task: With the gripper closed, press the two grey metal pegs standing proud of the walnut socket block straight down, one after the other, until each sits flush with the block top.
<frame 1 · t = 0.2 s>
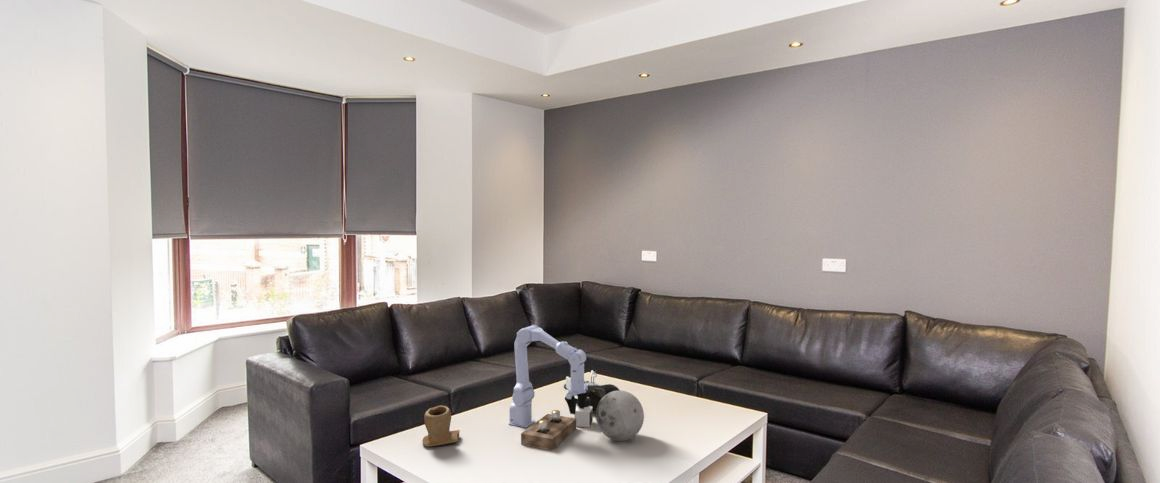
hand: (577, 411, 223), 10 cm above the table, fingers open, 7 cm apart
moon model: (619, 439, 219), on the table
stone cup: (441, 444, 214), on the table
socket block: (549, 436, 222), on the table
peg near: (543, 426, 216), point 6 cm above the table, slide at 4.0 cm
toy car: (582, 390, 284), on the table
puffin: (599, 410, 254), on the table
peg far: (555, 416, 227), point 6 cm above the table, slide at 4.0 cm
medicine bottle: (583, 424, 235), on the table
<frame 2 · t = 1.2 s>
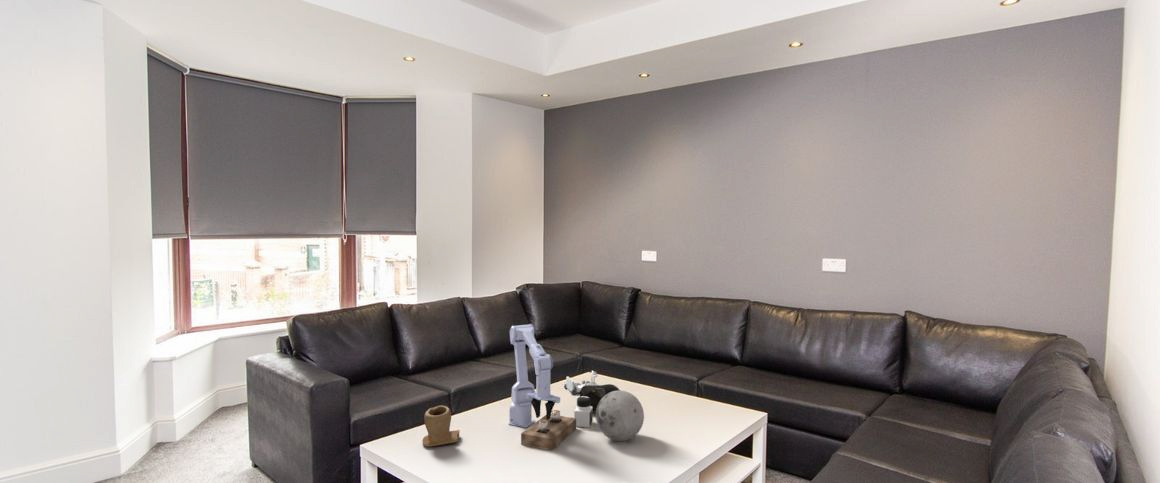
hand: (543, 417, 216), 10 cm above the table, fingers open, 4 cm apart
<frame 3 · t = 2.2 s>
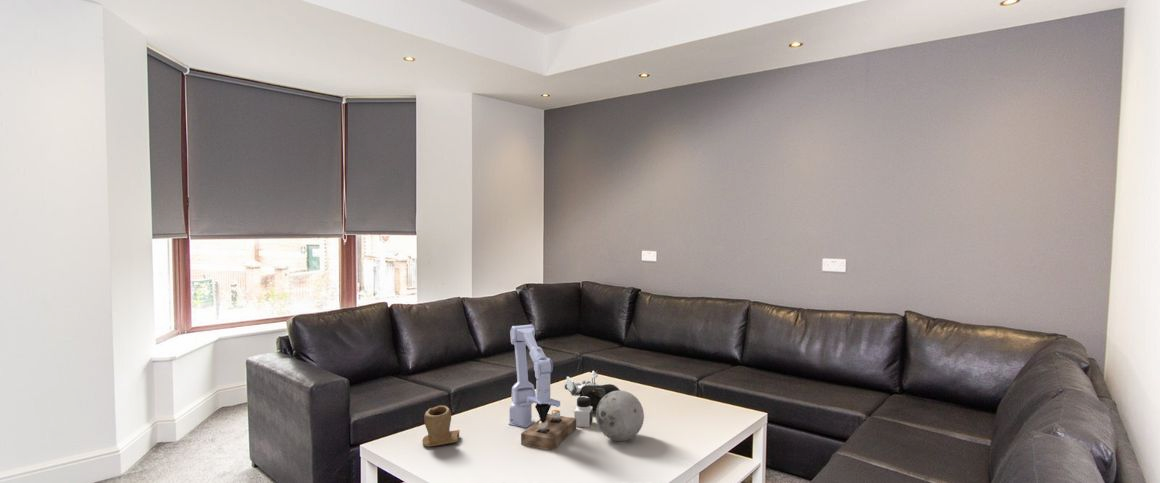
hand: (543, 421, 216), 8 cm above the table, fingers closed, pressing on peg near
peg near: (543, 426, 216), point 6 cm above the table, slide at 3.9 cm, touching gripper
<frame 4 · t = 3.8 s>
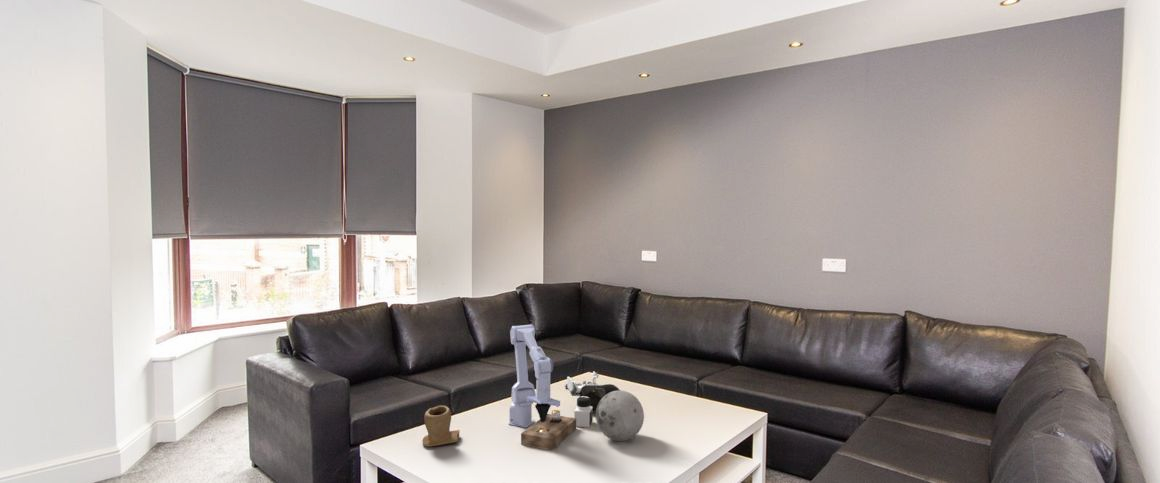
hand: (543, 421, 216), 8 cm above the table, fingers closed
peg near: (543, 435, 216), point 2 cm above the table, slide at 0.2 cm
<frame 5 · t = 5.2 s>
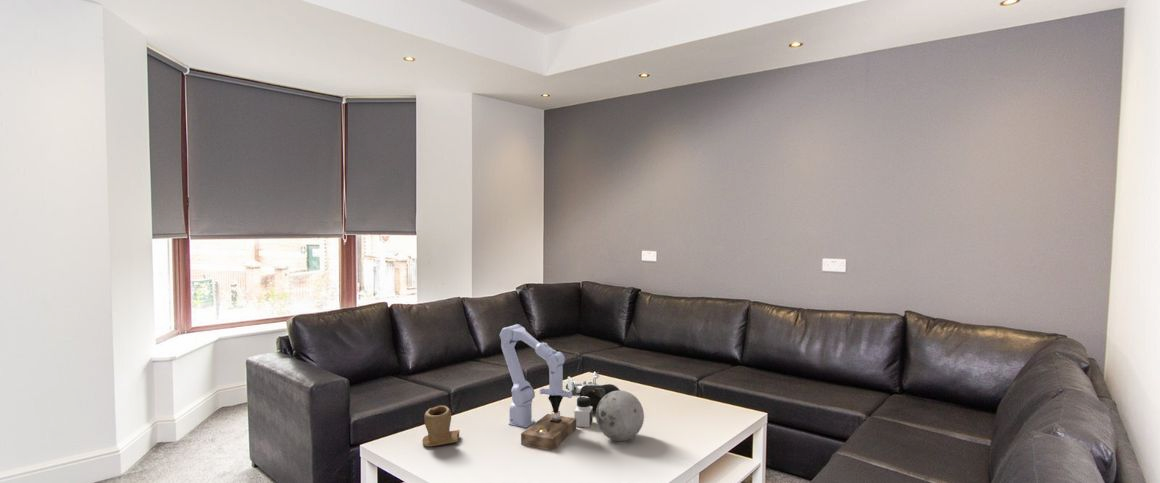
hand: (555, 412, 227), 8 cm above the table, fingers closed, pressing on peg far
peg far: (555, 417, 227), point 6 cm above the table, slide at 3.8 cm, touching gripper
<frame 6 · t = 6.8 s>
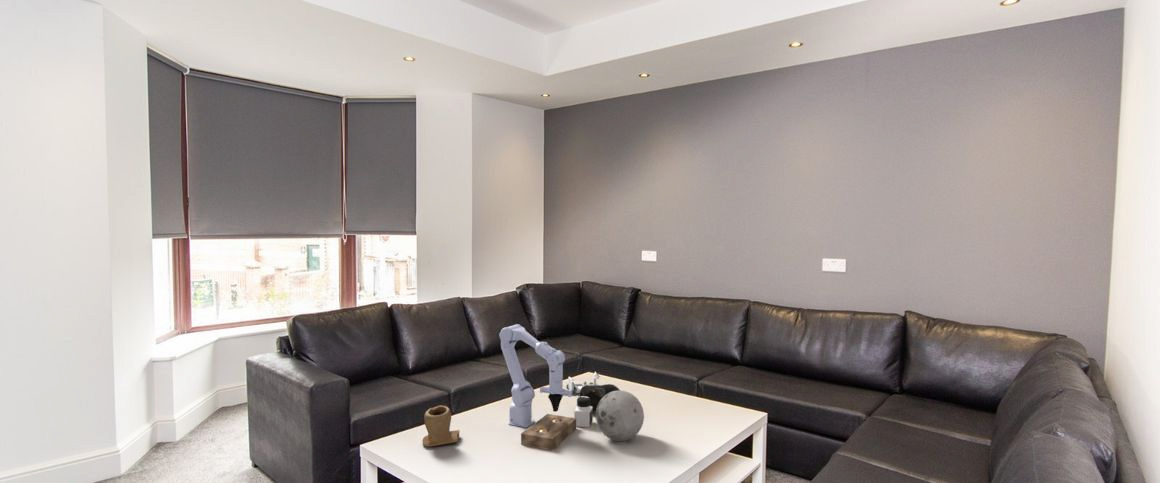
hand: (555, 410, 227), 9 cm above the table, fingers closed
peg far: (555, 425, 227), point 2 cm above the table, slide at 0.1 cm
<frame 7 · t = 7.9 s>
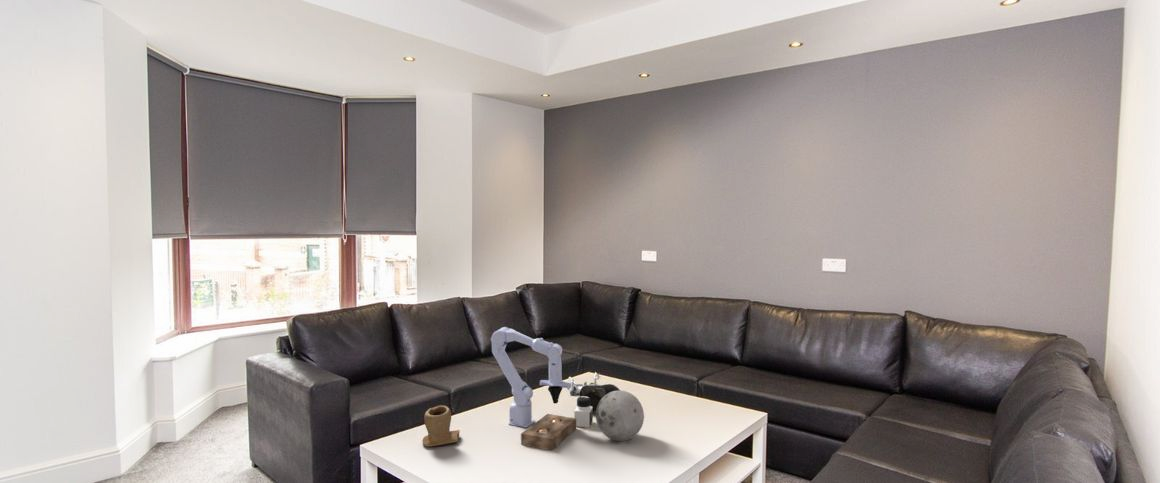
hand: (555, 402, 232), 10 cm above the table, fingers closed
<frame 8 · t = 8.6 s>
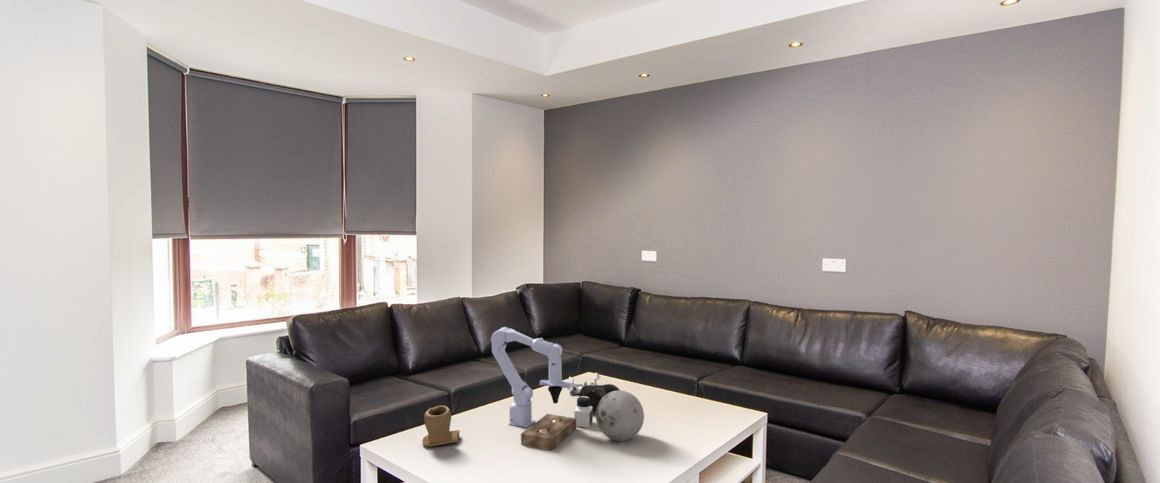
hand: (555, 402, 232), 10 cm above the table, fingers closed
at the end: peg near slide at 0.2 cm; peg far slide at 0.1 cm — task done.
